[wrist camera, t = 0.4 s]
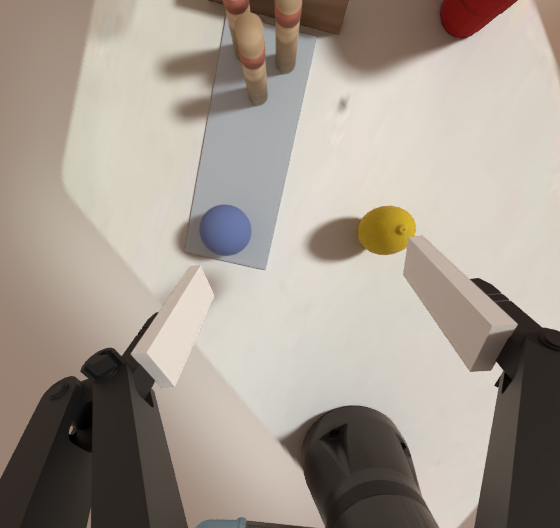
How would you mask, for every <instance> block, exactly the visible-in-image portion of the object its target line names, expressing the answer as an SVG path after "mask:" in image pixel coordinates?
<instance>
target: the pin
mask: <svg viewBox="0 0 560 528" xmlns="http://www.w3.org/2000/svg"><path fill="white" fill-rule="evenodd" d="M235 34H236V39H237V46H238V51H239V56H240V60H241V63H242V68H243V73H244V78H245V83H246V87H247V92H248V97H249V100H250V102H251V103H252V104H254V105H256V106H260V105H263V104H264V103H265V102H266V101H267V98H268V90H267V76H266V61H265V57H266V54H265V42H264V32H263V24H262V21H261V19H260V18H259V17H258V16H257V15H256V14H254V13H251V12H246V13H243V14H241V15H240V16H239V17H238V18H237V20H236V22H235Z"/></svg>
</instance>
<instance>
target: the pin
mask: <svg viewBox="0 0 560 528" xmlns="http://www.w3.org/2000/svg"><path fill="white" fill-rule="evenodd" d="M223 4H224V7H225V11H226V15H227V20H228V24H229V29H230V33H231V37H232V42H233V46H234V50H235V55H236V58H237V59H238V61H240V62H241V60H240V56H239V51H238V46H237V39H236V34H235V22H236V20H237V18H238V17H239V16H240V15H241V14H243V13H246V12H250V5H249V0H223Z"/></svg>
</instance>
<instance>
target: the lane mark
mask: <svg viewBox="0 0 560 528" xmlns="http://www.w3.org/2000/svg"><path fill="white" fill-rule="evenodd" d="M262 24H263V32H264V42H265V54H266V57H265V61H266V76H267V90H268V98H267V101H266V102H265V103H264V104H263V105H260V106H256V105H254V104H252V103H251V102H250V100H249V97H248V92H247V87H246V83H245V78H244V73H243V68H242V63H241V62H240V61H238V59H237V58H236V55H235V50H234V46H233V42H232V37H231V33H230V29H229V24H228V20H227V15H226V20H225V26H224V31H223V37H222V42H221V48H220V54H219V59H218V65H217V70H216V76H215V82H214V87H213V93H212V98H211V104H210V110H209V115H208V121H207V127H206V132H205V138H204V143H203V149H202V155H201V160H200V166H199V171H198V177H197V183H196V188H195V194H194V199H193V205H192V211H191V216H190V222H189V227H188V233H187V239H186V244H185V250H184V252H187V253H192V254H196V255H201V256H205V257H210V258H214V259H219V260H223V261H228V262H232V263H237V264H241V265H246V266H250V267H255V268H259V269H264V270H266V265H267V261H268V256H269V251H270V247H271V242H272V238H273V233H274V229H275V224H276V220H277V215H278V211H279V206H280V202H281V197H282V192H283V188H284V183H285V179H286V174H287V170H288V165H289V161H290V156H291V152H292V147H293V143H294V138H295V133H296V129H297V124H298V120H299V115H300V111H301V106H302V102H303V97H304V93H305V88H306V84H307V79H308V74H309V70H310V65H311V61H312V56H313V52H314V47H315V43H316V38H317V36H313V35H309V34H305V33H302V32H299V34H298V44H297V54H296V64H295V68H294V70H293V71H292V72H290V73H288V74H283V73H281V72H280V71H279V70H278V69H277V67H276V39H275V25H271V24H267V23H263V22H262ZM223 204H225V205H232V206H235V207H237V208H239V209H240V210H241V211H243V212H244V213H245V215H246V216H247V217H248V219H249V221H250V224H251V238H250V241H249V243H248V244H247V246H246V247H245V248H244V249H243V250H242V251H241V252H239V253H237V254H234V255H230V256H222V255H218V254H215V253H213V252H212V251H210V250H209V249H208V248H207V247H206V246H205V245H204V243H203V242H202V240H201V237H200V232H199V226H200V221H201V219H202V217H203V215H204V214H205V213H206V212H207V211H208V210H209V209H211V208H212V207H214V206H217V205H223Z"/></svg>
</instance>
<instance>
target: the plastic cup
mask: <svg viewBox="0 0 560 528" xmlns="http://www.w3.org/2000/svg"><path fill="white" fill-rule="evenodd" d="M516 1H518V0H443V2H442V6H441V12H440V15H441V21H442V24H443V26H444V28H445V29H446V31H447V32H448V33H450V34H451V35H453V36H454V37H461V38H464V37H468V36H471V35H473V34H474V33H475V32H478V31H479V30H481V29H482V28H483V27H484V26H486V25H487V24H488V23H489V22H490V21H492V20H493V19H494V18H495V17H497V16H498V15H499V14H502V13H503V12H504V11H505V10H507V9H508V8H509V7H510V6H512V5H513V4H514V3H515V2H516Z"/></svg>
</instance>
